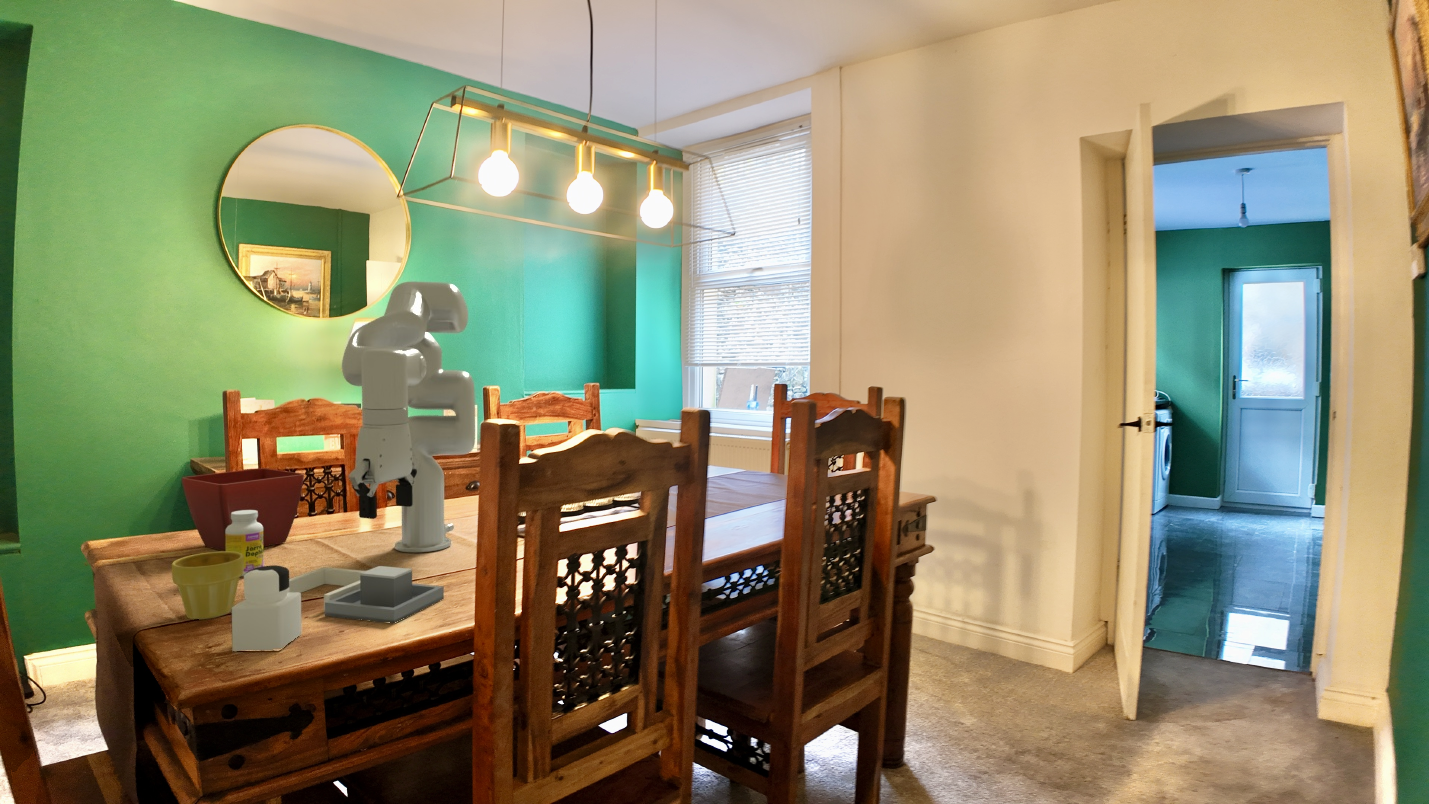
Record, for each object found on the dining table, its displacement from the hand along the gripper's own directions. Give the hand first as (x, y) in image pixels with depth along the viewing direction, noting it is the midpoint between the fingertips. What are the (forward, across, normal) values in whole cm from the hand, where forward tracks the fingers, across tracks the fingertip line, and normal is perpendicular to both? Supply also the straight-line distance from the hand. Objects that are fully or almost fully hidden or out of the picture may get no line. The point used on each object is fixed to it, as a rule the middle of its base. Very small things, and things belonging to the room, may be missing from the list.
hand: (386, 511), depth 134 cm
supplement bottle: (+19, -9, -41) cm, 46 cm away
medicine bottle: (+17, +21, -5) cm, 28 cm away
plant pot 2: (+18, +13, -26) cm, 34 cm away
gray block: (+17, +1, +1) cm, 17 cm away
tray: (+17, +1, +1) cm, 17 cm away
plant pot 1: (+20, -28, -61) cm, 70 cm away
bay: (+18, -1, -14) cm, 23 cm away
